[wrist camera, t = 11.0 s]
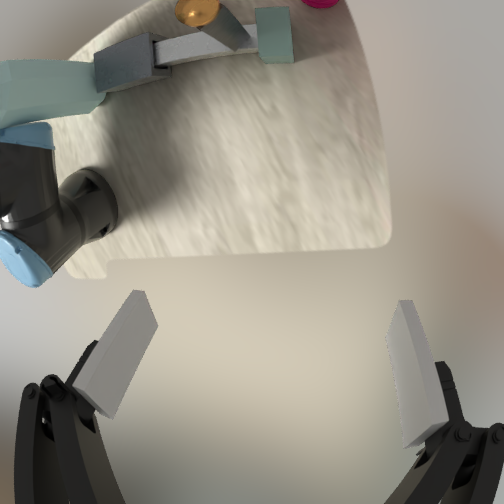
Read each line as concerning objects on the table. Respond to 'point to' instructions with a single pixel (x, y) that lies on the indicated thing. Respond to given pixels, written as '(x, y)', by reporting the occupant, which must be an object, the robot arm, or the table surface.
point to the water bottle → (46, 90)
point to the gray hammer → (205, 35)
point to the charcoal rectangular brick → (128, 64)
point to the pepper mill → (320, 3)
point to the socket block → (274, 35)
